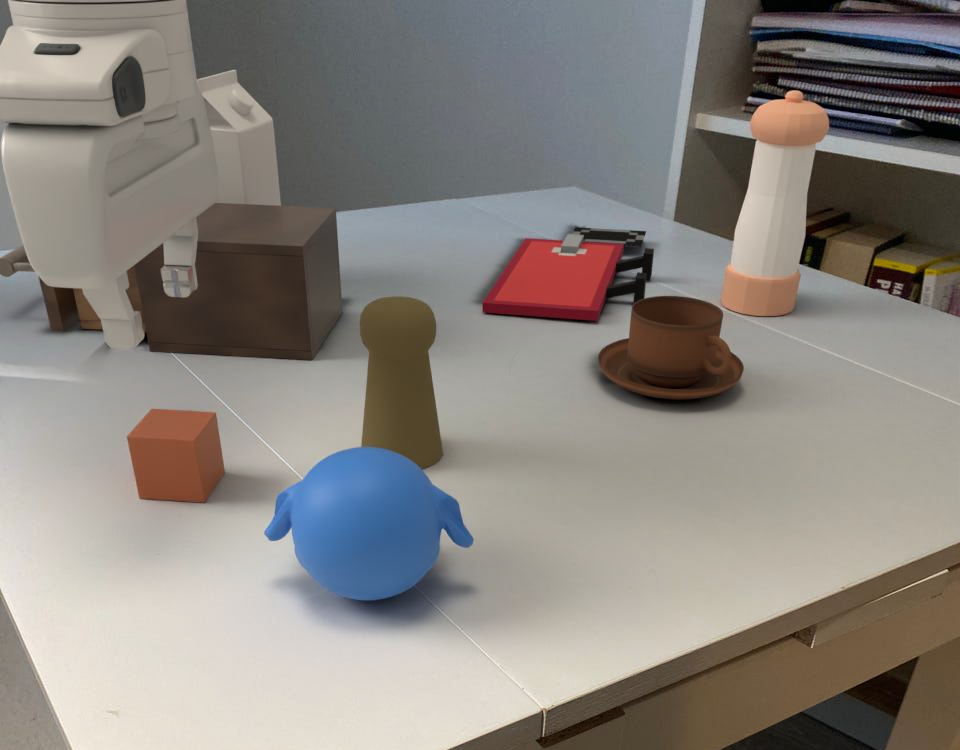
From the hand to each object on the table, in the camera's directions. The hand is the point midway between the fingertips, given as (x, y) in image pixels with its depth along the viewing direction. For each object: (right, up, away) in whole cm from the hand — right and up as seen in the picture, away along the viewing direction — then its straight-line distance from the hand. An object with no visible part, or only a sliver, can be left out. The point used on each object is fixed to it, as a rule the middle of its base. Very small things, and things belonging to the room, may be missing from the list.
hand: (156, 318), depth 62 cm
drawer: (-13, +10, +32) cm, 36 cm away
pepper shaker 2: (+48, +14, +40) cm, 64 cm away
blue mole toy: (+14, -16, -1) cm, 21 cm away
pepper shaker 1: (+14, -6, +12) cm, 19 cm away
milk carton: (-5, +17, +43) cm, 46 cm away
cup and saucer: (+36, +2, +23) cm, 43 cm away
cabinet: (-1, +9, +31) cm, 32 cm away
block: (0, -9, +7) cm, 12 cm away
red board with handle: (+31, +19, +47) cm, 59 cm away
